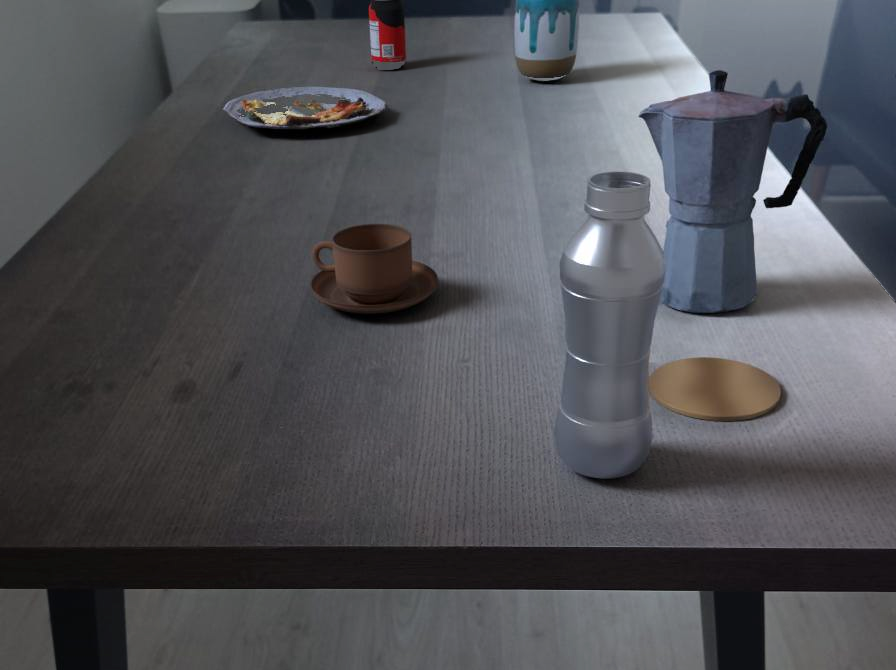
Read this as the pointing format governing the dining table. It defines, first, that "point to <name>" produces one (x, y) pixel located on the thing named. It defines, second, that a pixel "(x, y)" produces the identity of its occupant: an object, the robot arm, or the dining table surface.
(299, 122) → the food plate
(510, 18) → the dining table surface
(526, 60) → the vase
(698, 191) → the moka pot
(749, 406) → the coaster
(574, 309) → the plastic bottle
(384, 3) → the beverage can
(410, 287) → the cup and saucer
